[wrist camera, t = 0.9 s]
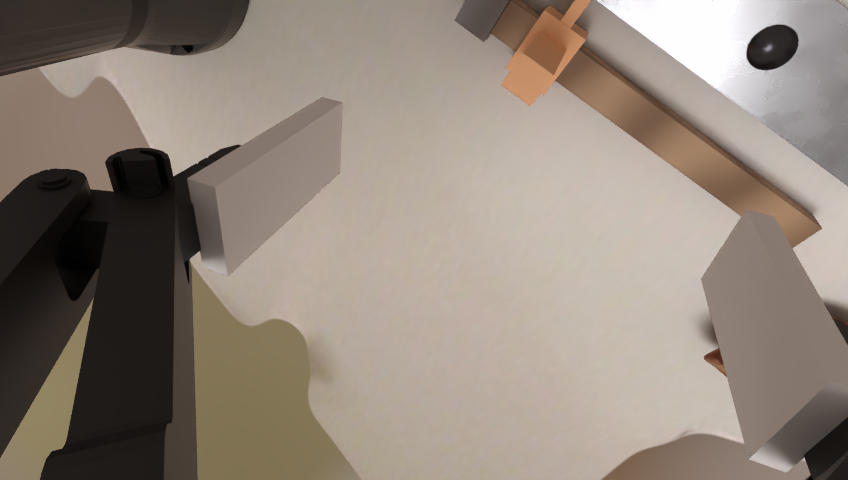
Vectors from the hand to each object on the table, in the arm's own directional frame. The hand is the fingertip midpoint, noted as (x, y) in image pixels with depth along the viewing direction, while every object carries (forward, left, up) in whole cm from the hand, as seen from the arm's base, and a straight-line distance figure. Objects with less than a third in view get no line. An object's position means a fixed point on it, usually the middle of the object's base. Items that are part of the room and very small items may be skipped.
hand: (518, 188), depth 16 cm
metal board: (+6, +7, -22) cm, 24 cm away
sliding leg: (-2, +3, -21) cm, 22 cm away
